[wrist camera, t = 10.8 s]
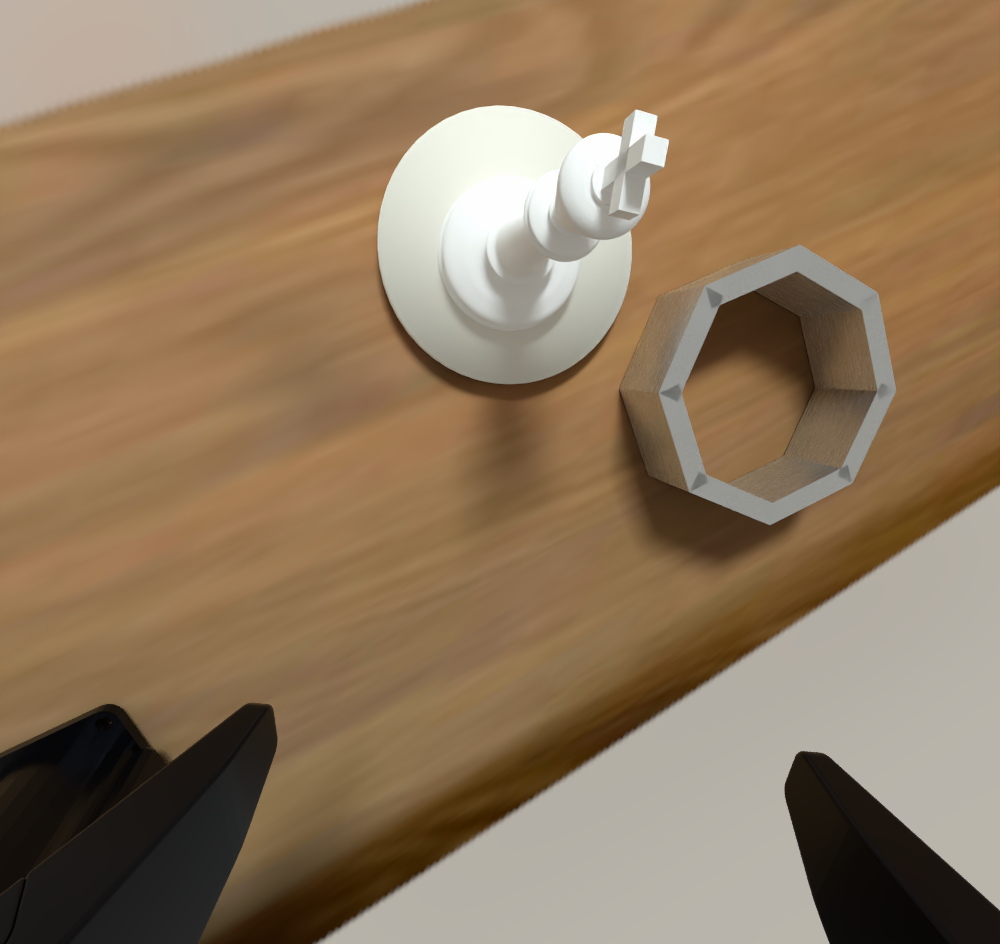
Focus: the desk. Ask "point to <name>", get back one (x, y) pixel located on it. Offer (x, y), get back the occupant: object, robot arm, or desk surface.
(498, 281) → the chess piece
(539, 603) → the desk surface
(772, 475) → the ring collar
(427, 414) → the desk surface
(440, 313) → the felt pad
